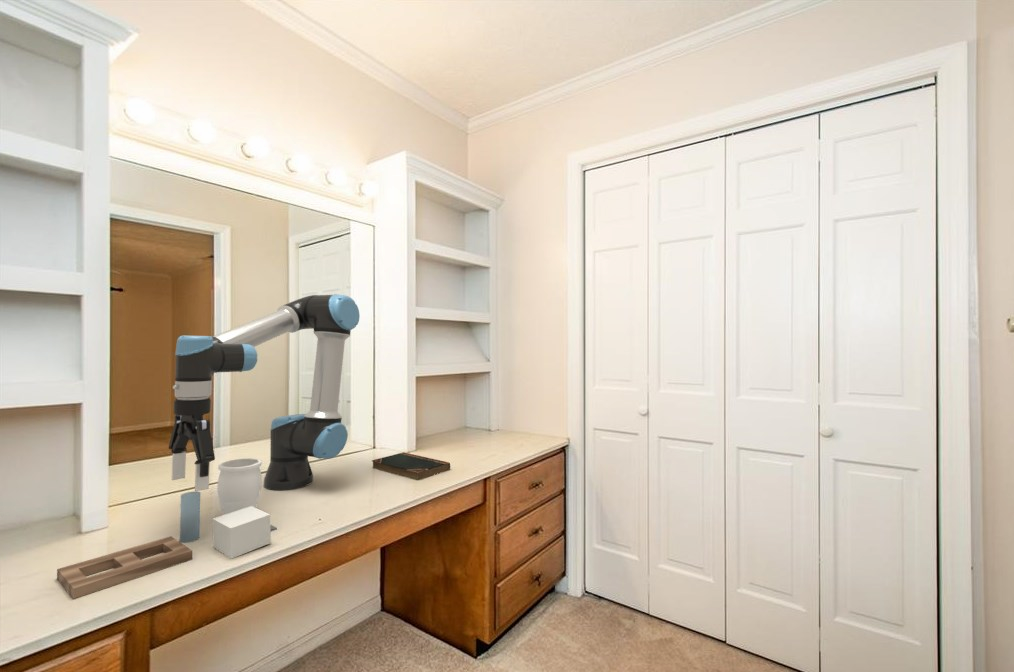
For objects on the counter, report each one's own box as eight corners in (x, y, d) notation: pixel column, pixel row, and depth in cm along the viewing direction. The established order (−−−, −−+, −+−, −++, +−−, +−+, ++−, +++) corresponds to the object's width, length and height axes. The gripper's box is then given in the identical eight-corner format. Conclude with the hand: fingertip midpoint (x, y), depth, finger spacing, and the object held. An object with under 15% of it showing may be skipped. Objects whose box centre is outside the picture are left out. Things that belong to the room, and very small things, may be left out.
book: (370, 469, 179) (417, 482, 165) (371, 460, 179) (417, 472, 165) (404, 460, 193) (450, 471, 179) (404, 451, 193) (450, 461, 179)
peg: (177, 539, 115) (178, 494, 115) (195, 534, 118) (196, 490, 118) (183, 543, 112) (184, 498, 112) (202, 538, 116) (203, 493, 116)
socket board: (57, 578, 95) (57, 569, 95) (170, 544, 112) (171, 536, 112) (73, 599, 88) (73, 588, 88) (192, 559, 105) (192, 550, 105)
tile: (241, 530, 120) (241, 526, 120) (265, 523, 125) (265, 519, 125) (253, 537, 117) (253, 532, 117) (276, 529, 122) (276, 525, 122)
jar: (251, 506, 137) (252, 455, 137) (267, 516, 130) (268, 462, 130) (210, 517, 129) (212, 463, 129) (225, 527, 122) (226, 470, 122)
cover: (213, 547, 111) (212, 518, 110) (252, 533, 118) (251, 505, 118) (231, 558, 106) (230, 528, 105) (270, 542, 113) (270, 514, 113)
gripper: (155, 394, 119) (152, 477, 119) (197, 404, 105) (194, 499, 104) (188, 392, 125) (185, 471, 125) (233, 401, 111) (229, 490, 111)
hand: (189, 484), depth 115 cm, fingers open, 13 cm apart
